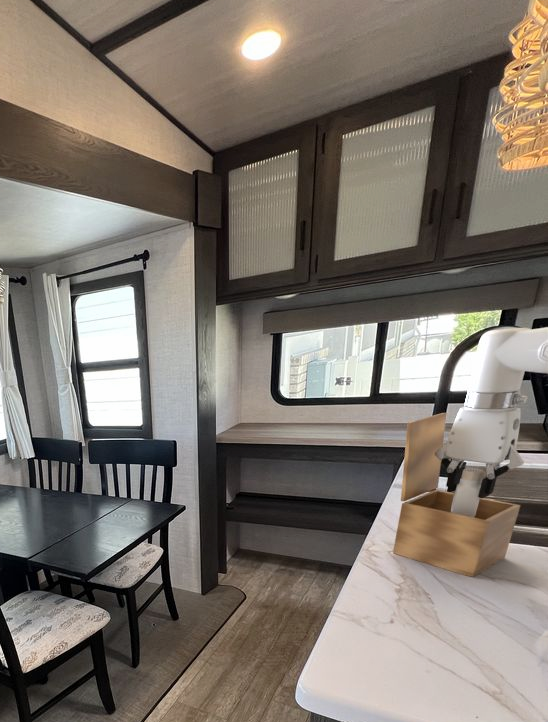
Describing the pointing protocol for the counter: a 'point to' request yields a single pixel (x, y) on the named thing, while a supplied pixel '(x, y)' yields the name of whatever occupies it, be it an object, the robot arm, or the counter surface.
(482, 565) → the chest
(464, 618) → the counter surface
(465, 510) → the pepper shaker
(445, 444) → the robot arm
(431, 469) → the lid
